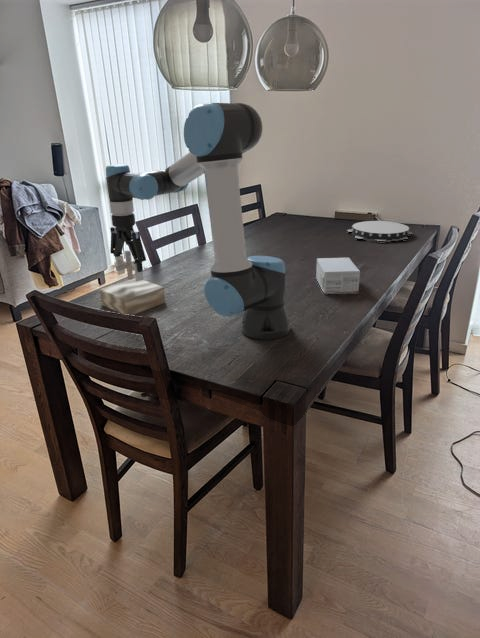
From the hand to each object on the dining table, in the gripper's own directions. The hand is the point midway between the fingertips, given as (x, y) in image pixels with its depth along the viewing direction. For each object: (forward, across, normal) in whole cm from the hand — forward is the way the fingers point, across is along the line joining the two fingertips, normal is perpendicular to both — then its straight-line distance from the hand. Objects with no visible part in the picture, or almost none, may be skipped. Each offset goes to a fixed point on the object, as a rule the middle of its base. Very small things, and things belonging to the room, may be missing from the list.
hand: (130, 277), depth 165 cm
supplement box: (+10, -46, -61) cm, 77 cm away
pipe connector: (+1, 0, 0) cm, 1 cm away
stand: (+10, 0, 0) cm, 10 cm away
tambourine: (+11, -21, -144) cm, 146 cm away
